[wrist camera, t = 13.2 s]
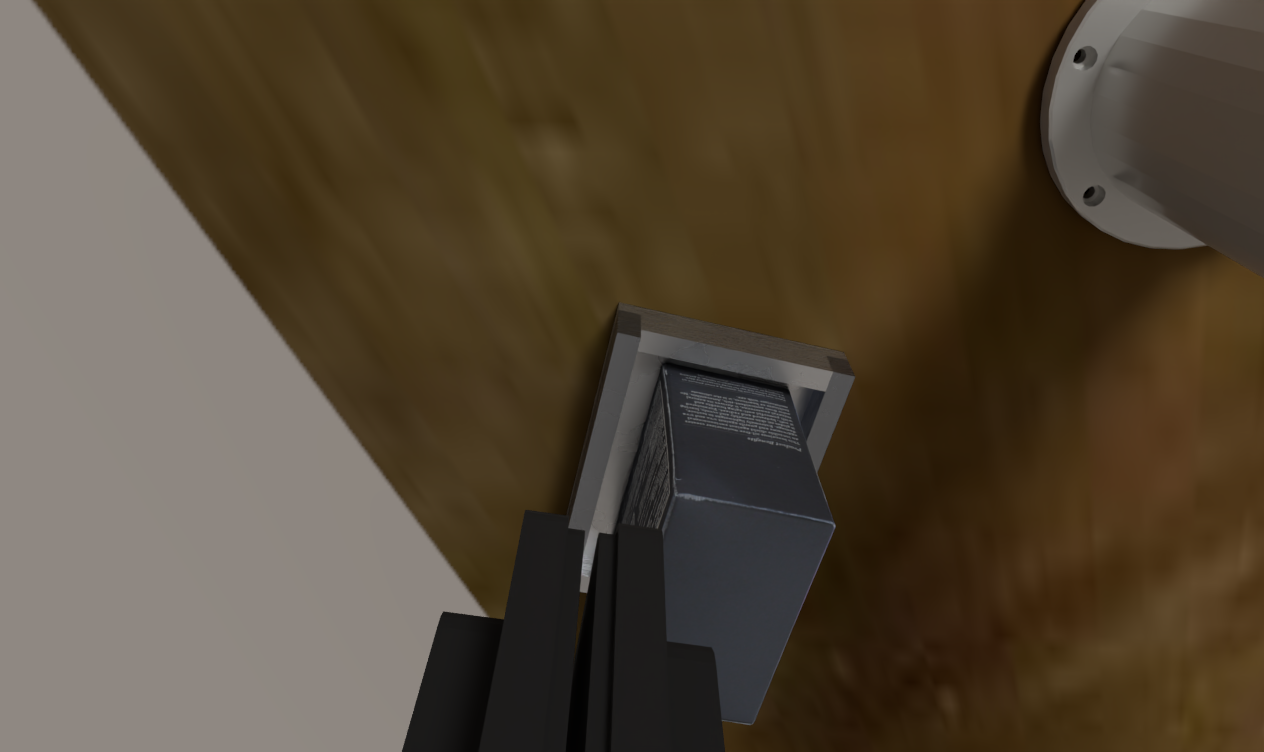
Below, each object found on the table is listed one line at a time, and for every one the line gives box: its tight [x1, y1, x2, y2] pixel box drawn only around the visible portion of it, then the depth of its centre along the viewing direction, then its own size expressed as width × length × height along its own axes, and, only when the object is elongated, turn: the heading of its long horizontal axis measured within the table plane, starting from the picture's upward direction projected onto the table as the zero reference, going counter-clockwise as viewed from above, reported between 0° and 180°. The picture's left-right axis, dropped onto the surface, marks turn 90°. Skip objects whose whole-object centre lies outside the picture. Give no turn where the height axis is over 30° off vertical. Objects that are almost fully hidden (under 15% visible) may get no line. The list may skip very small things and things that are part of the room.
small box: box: [614, 363, 835, 725], centre depth 38 cm, size 11×6×10 cm, turn 167°
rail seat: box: [566, 303, 855, 593], centre depth 42 cm, size 10×14×3 cm
